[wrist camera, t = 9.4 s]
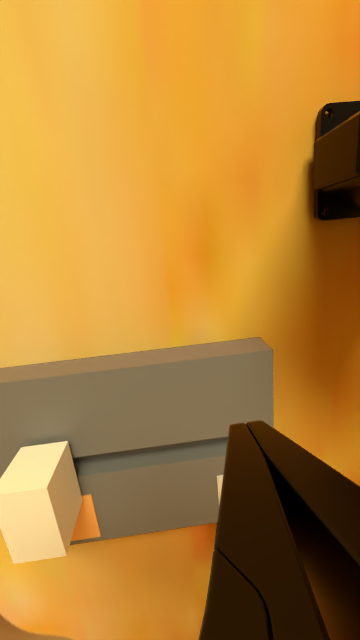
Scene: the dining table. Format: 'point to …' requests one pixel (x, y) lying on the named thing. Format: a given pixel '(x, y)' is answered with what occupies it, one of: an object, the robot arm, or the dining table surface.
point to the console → (140, 428)
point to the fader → (39, 502)
